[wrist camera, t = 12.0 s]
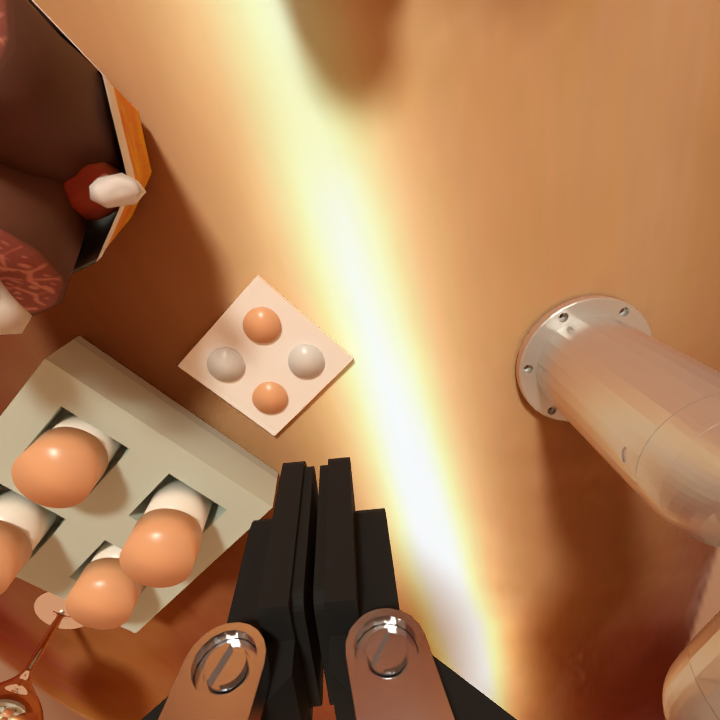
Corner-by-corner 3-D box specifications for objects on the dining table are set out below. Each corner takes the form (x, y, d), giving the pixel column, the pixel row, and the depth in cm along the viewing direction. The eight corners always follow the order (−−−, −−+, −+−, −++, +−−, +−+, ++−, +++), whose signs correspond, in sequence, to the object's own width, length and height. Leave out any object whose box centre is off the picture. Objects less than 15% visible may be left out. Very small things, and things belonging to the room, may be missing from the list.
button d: (70, 507, 41) (22, 571, 34) (39, 542, 42) (-13, 610, 36) (11, 475, 39) (-51, 536, 33) (-20, 513, 40) (-85, 578, 34)
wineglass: (40, 635, 52) (-93, 852, 36) (15, 586, 49) (-144, 800, 32) (111, 628, 52) (12, 840, 36) (91, 579, 49) (-29, 787, 33)
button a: (226, 498, 42) (207, 559, 35) (190, 533, 43) (166, 597, 36) (175, 466, 40) (146, 524, 33) (139, 503, 41) (105, 566, 35)
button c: (170, 543, 46) (144, 604, 39) (139, 573, 47) (109, 637, 41) (121, 516, 44) (87, 576, 38) (91, 548, 45) (52, 611, 39)
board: (278, 472, 45) (272, 507, 40) (152, 590, 50) (135, 633, 46) (79, 335, 38) (44, 358, 33) (-42, 490, 43) (-86, 528, 39)
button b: (140, 427, 40) (105, 476, 34) (106, 465, 41) (66, 519, 35) (84, 390, 38) (35, 435, 32) (50, 431, 40) (-3, 482, 33)
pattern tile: (353, 356, 40) (353, 360, 40) (275, 432, 43) (274, 437, 42) (257, 274, 37) (256, 276, 36) (179, 363, 39) (176, 367, 39)
